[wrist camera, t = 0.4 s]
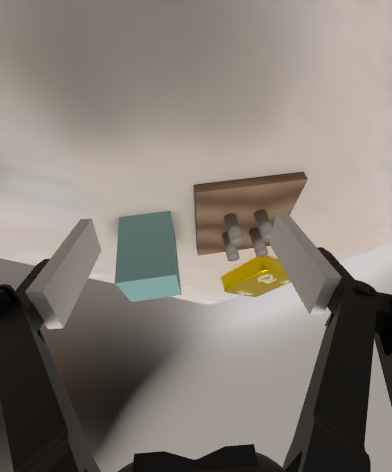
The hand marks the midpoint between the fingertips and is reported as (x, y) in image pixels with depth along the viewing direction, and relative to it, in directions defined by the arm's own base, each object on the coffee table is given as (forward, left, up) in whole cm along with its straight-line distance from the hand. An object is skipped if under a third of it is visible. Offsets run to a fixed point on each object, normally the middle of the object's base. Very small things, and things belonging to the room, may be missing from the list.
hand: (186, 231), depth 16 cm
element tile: (+44, +18, -14) cm, 50 cm away
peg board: (+18, +10, -14) cm, 25 cm away
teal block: (+18, -6, -14) cm, 23 cm away
